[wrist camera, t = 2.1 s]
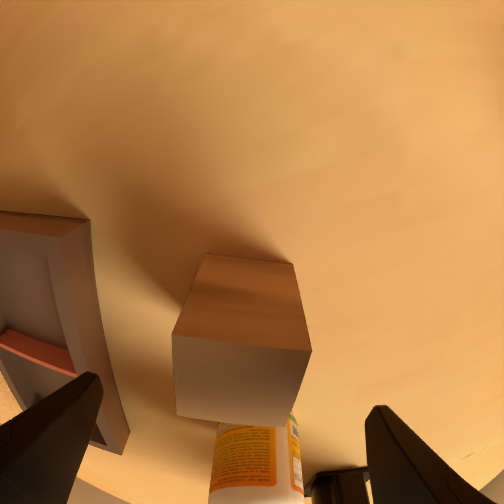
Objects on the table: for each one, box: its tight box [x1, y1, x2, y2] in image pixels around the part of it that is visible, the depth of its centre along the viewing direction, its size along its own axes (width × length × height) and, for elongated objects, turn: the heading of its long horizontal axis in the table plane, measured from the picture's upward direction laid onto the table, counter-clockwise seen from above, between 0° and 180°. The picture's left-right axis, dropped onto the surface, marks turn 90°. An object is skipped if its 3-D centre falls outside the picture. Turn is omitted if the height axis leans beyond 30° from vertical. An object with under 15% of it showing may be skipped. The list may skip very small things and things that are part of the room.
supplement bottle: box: [208, 411, 304, 504], centre depth 14 cm, size 5×5×10 cm
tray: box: [0, 211, 130, 455], centre depth 15 cm, size 18×10×3 cm, turn 173°
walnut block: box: [172, 254, 312, 427], centre depth 12 cm, size 4×4×6 cm
